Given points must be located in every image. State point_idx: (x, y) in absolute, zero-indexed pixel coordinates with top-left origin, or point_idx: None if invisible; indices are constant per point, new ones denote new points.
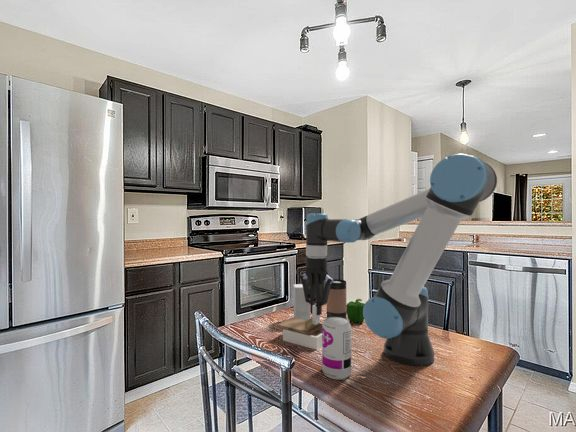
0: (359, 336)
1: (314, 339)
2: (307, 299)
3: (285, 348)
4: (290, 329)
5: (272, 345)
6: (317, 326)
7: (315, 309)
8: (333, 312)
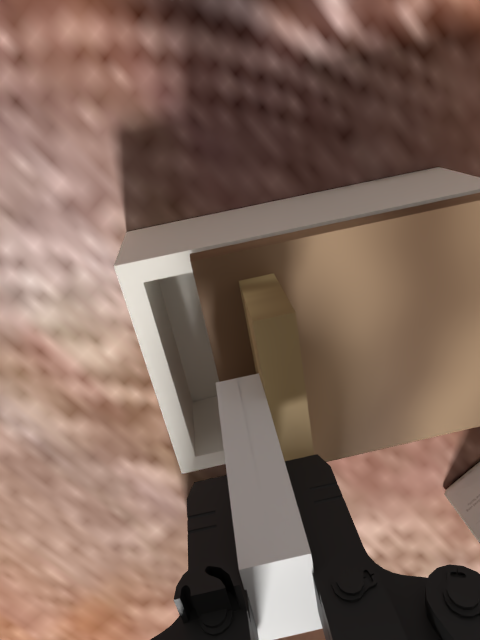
0: (114, 561)
1: (143, 252)
2: (465, 629)
3: (340, 73)
4: (424, 206)
5: (467, 33)
6: None
7: (240, 518)
8: None
